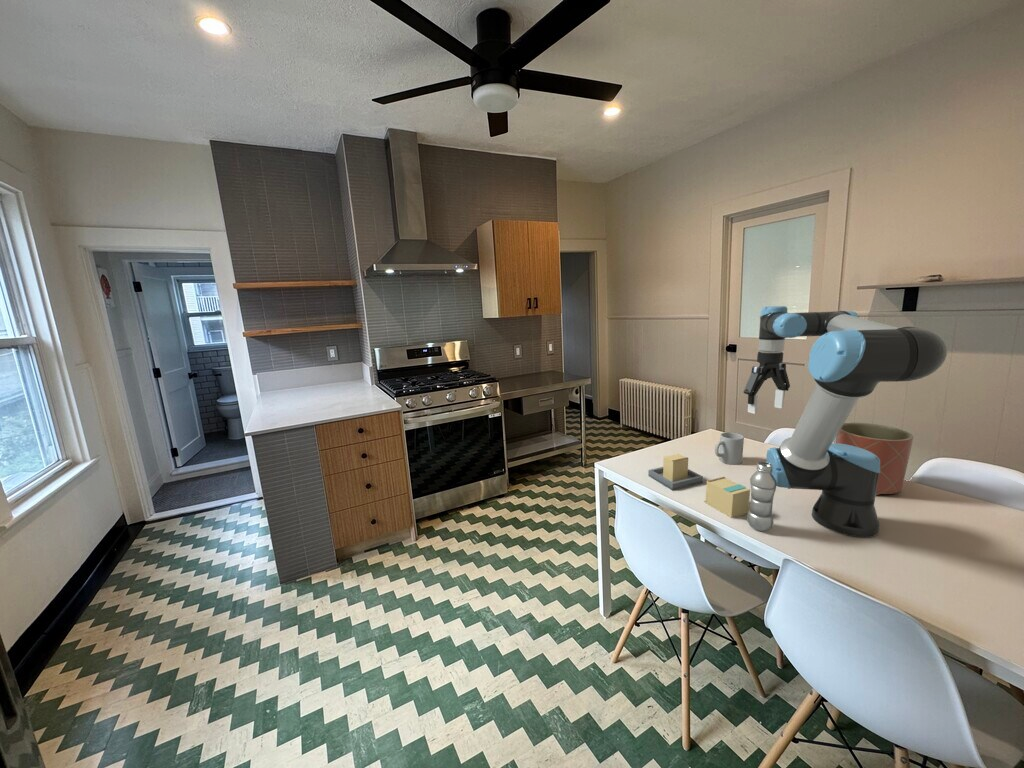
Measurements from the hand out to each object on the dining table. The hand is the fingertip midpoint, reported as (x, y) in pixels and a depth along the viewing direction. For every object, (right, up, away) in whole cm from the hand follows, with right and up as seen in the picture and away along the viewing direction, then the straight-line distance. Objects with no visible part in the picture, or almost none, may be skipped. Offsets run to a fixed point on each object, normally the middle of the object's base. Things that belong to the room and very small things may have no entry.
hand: (765, 410), depth 138 cm
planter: (+34, -26, -2) cm, 43 cm away
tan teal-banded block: (-21, -31, -13) cm, 40 cm away
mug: (-2, -23, +22) cm, 32 cm away
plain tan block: (-29, -26, +8) cm, 40 cm away
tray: (-29, -27, +8) cm, 40 cm away
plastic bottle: (-18, -33, -24) cm, 45 cm away
